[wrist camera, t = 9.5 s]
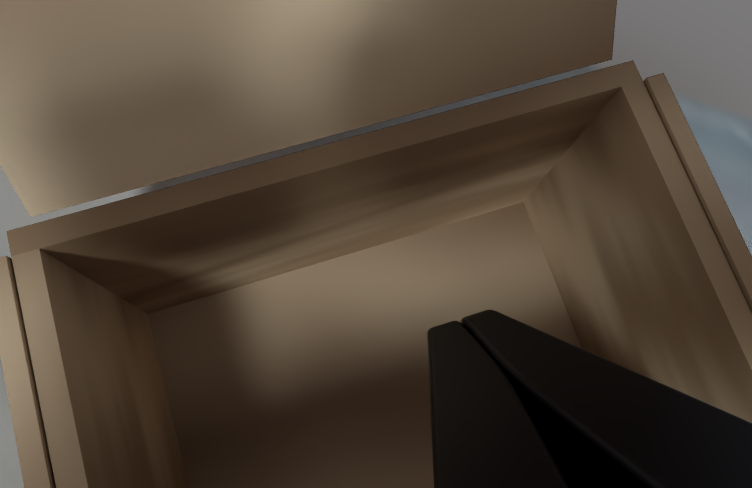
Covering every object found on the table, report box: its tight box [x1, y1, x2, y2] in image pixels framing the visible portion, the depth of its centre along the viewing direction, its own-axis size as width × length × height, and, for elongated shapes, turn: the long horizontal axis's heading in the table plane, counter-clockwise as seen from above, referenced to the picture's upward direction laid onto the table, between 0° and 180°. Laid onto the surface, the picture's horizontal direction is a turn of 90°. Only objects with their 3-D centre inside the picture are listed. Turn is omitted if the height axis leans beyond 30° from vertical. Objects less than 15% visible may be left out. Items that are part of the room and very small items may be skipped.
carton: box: [0, 61, 752, 488], centre depth 16 cm, size 12×14×8 cm
